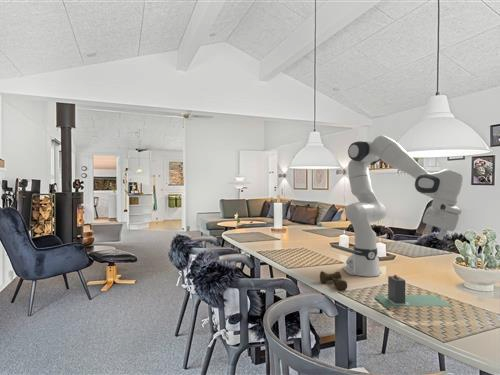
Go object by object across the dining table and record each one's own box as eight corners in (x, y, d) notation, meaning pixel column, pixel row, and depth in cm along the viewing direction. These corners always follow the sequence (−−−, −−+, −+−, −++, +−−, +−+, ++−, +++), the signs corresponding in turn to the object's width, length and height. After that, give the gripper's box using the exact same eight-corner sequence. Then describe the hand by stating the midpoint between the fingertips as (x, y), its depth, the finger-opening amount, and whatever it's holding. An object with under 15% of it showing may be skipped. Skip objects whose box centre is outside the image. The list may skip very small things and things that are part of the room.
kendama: (332, 292, 155) (316, 279, 174) (352, 292, 156) (334, 279, 176) (333, 279, 154) (316, 268, 174) (352, 279, 156) (334, 267, 176)
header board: (374, 298, 145) (374, 295, 145) (434, 298, 145) (434, 294, 145) (387, 310, 132) (387, 306, 132) (453, 309, 132) (453, 305, 132)
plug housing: (388, 297, 142) (388, 273, 142) (397, 297, 142) (397, 273, 142) (395, 303, 135) (395, 278, 135) (405, 303, 135) (405, 277, 135)
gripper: (424, 202, 159) (415, 230, 159) (449, 207, 138) (439, 239, 139) (437, 205, 159) (428, 234, 159) (464, 211, 138) (454, 244, 139)
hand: (433, 237), depth 149 cm, fingers open, 8 cm apart
